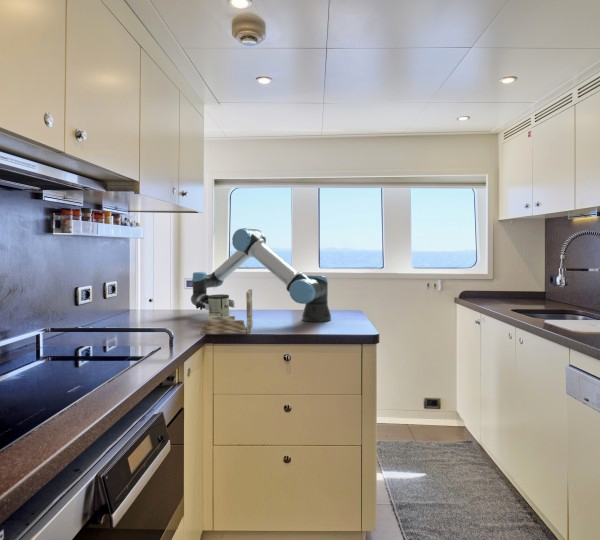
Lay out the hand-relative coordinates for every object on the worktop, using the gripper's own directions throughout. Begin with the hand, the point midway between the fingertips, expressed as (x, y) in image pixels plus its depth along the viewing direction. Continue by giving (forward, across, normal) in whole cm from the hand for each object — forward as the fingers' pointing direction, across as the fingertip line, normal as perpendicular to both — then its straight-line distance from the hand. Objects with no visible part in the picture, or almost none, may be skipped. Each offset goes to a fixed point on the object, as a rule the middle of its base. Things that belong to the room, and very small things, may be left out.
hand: (221, 306), depth 206 cm
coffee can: (-3, 0, -9) cm, 10 cm away
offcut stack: (+22, +8, -8) cm, 25 cm away
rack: (+16, +4, -9) cm, 19 cm away
